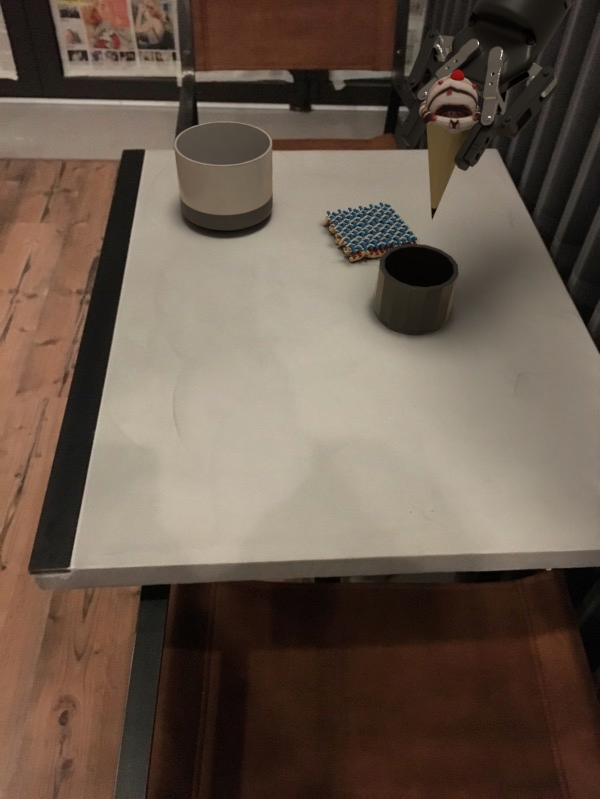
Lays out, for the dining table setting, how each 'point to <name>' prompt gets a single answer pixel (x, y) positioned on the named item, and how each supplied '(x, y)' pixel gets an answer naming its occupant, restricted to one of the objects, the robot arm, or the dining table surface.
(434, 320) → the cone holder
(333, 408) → the dining table surface
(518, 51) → the robot arm
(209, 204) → the planter
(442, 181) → the ice cream cone
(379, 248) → the woven mat
